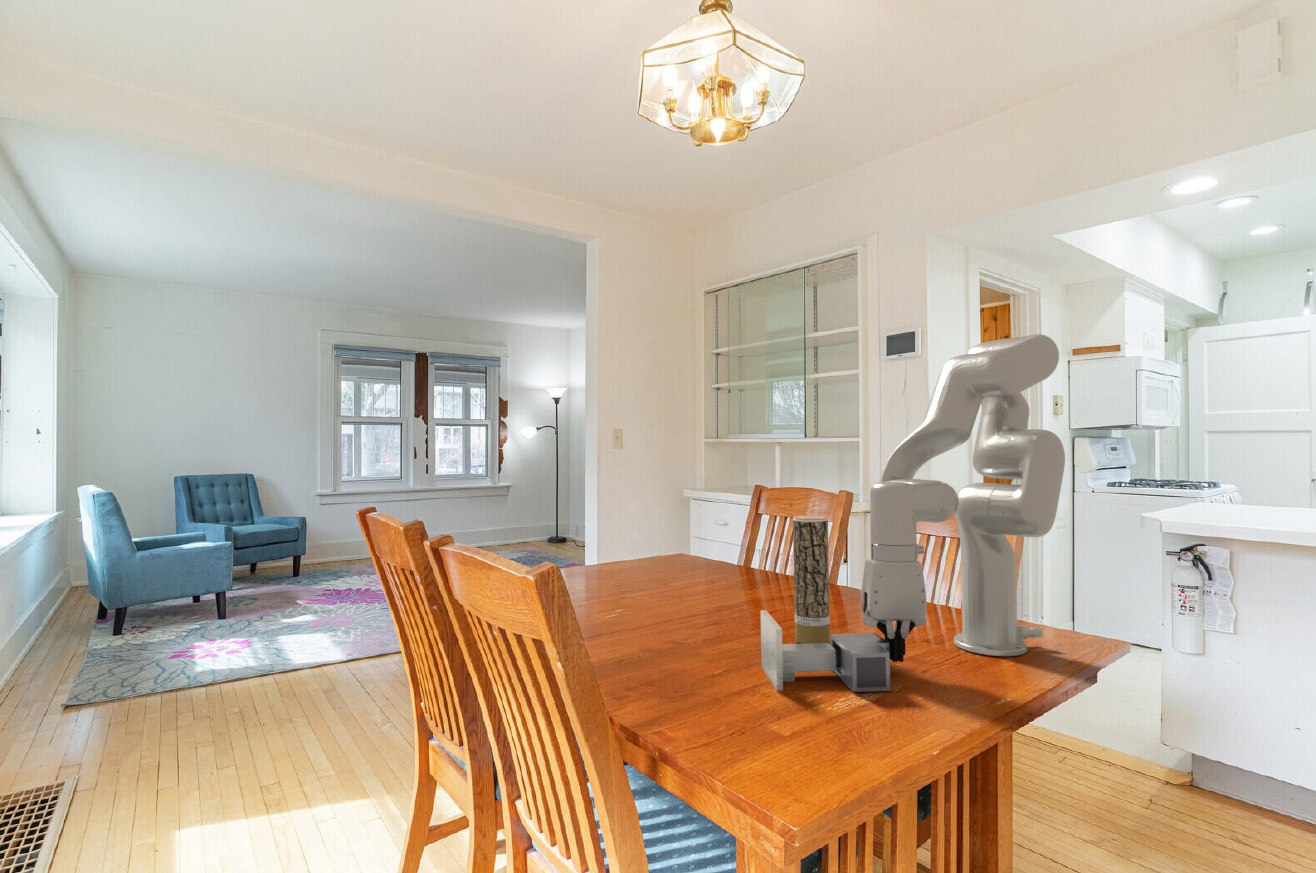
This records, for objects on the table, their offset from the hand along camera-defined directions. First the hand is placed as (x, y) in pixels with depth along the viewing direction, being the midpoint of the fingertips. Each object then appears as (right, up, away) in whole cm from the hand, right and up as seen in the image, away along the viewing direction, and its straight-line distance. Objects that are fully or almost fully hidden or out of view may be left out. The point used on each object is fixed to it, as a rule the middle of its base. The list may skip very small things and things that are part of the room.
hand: (895, 659), depth 113 cm
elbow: (-6, -2, -4) cm, 8 cm away
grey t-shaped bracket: (-17, -2, -2) cm, 17 cm away
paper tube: (-10, -3, +18) cm, 21 cm away
